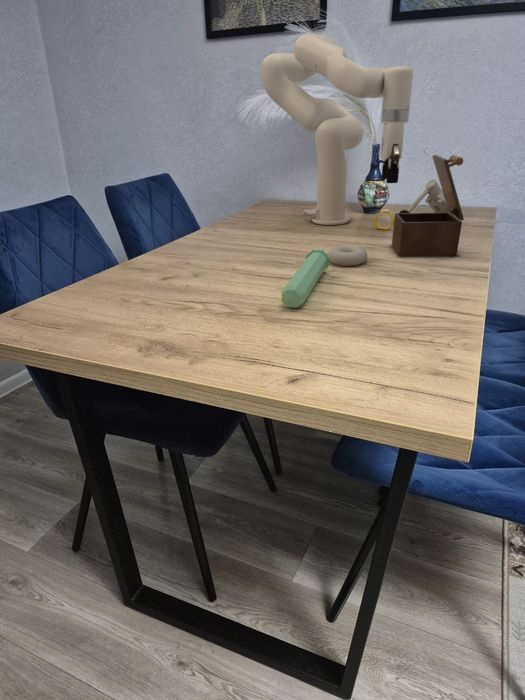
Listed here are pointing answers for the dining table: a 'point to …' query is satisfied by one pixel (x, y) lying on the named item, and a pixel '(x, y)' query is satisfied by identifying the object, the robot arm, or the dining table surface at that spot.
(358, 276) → the dining table surface
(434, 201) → the valve
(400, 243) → the chest
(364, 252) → the donut
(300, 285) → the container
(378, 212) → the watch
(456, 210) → the lid
